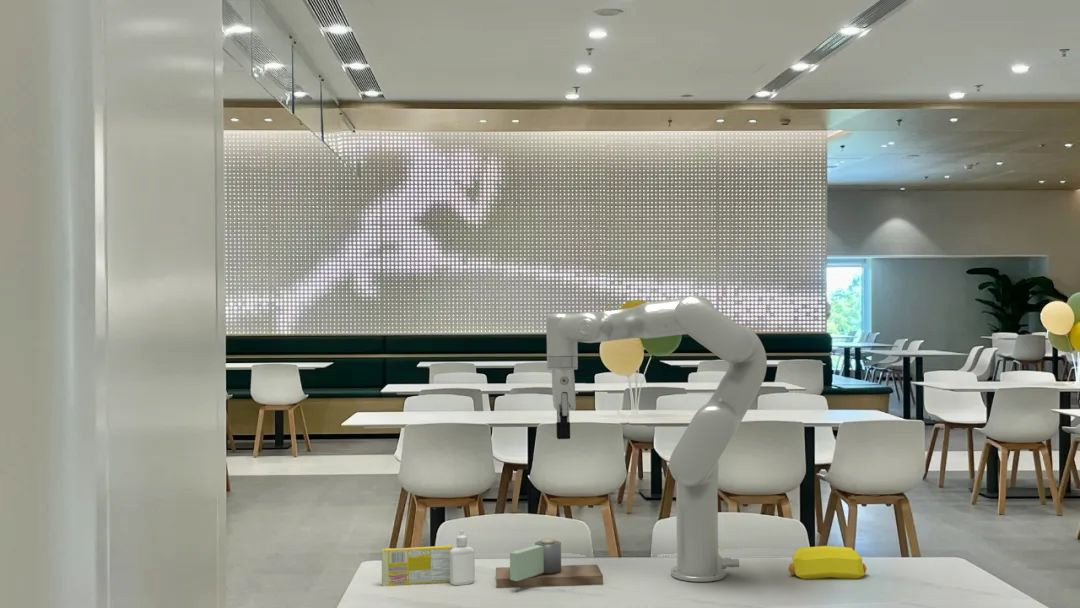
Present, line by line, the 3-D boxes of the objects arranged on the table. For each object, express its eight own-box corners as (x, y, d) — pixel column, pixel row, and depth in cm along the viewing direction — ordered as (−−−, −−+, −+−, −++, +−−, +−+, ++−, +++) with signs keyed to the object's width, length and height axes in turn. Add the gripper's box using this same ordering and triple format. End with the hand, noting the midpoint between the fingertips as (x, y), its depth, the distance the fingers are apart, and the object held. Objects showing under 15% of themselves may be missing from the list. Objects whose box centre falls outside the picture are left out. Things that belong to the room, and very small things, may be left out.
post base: (597, 572, 226) (597, 563, 226) (602, 584, 216) (602, 574, 216) (496, 576, 224) (495, 566, 224) (496, 587, 214) (496, 577, 214)
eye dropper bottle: (472, 586, 216) (471, 532, 216) (448, 585, 217) (447, 532, 217) (476, 580, 220) (475, 528, 221) (452, 580, 221) (451, 528, 221)
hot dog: (872, 580, 217) (861, 571, 224) (871, 551, 217) (860, 543, 224) (792, 581, 217) (784, 572, 225) (791, 551, 217) (784, 544, 225)
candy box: (452, 580, 221) (452, 544, 221) (453, 583, 219) (452, 546, 219) (382, 584, 219) (381, 547, 219) (381, 586, 217) (381, 550, 217)
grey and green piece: (546, 565, 224) (546, 535, 224) (566, 569, 220) (566, 539, 220) (503, 579, 213) (503, 547, 213) (523, 583, 209) (523, 551, 209)
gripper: (580, 364, 226) (582, 442, 226) (574, 362, 241) (575, 434, 241) (549, 365, 226) (550, 442, 225) (544, 362, 241) (545, 435, 240)
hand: (563, 438), depth 233 cm, fingers closed
